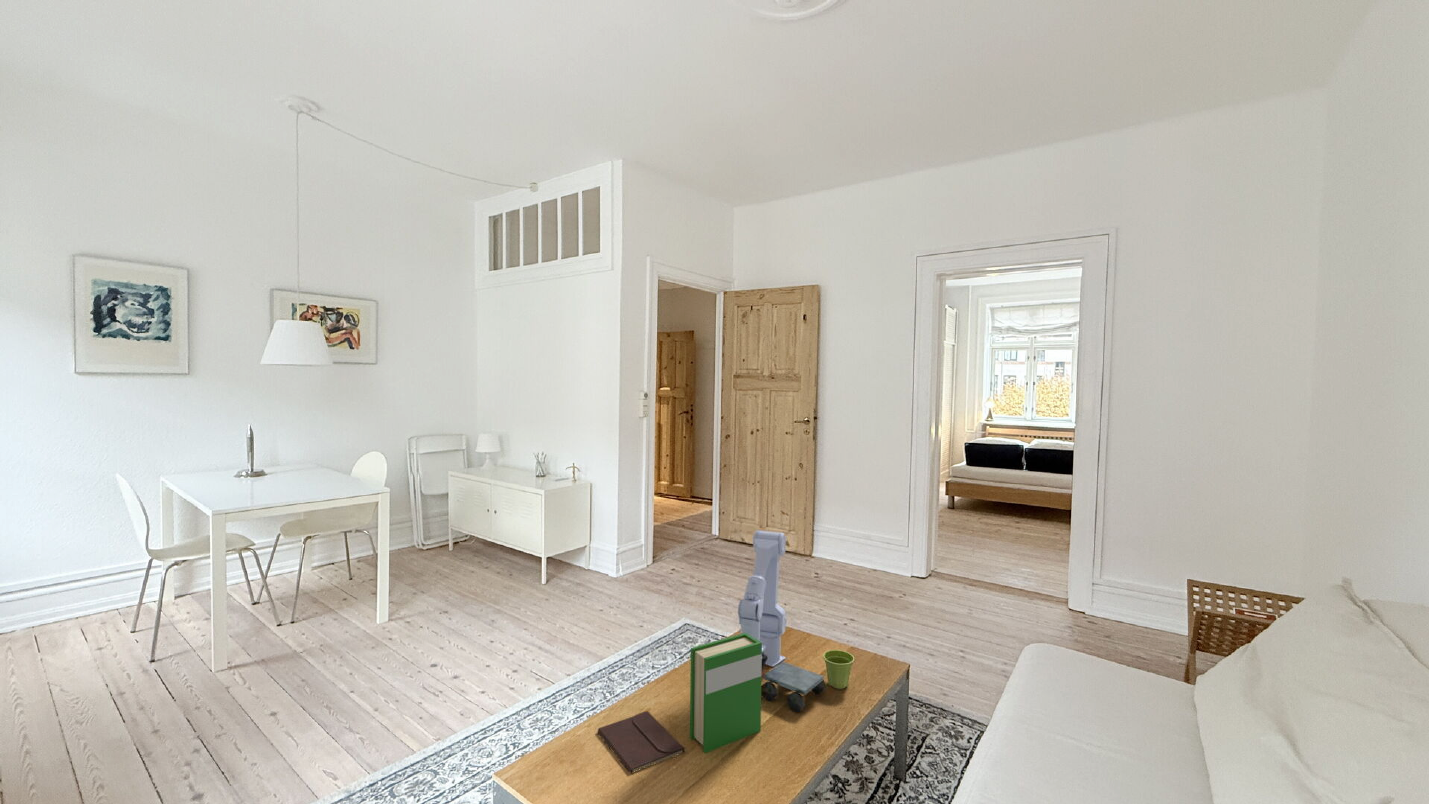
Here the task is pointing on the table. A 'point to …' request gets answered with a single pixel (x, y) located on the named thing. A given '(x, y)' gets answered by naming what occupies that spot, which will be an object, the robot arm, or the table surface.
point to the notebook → (640, 741)
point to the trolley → (792, 684)
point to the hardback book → (725, 691)
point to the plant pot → (838, 667)
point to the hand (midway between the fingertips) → (749, 683)
